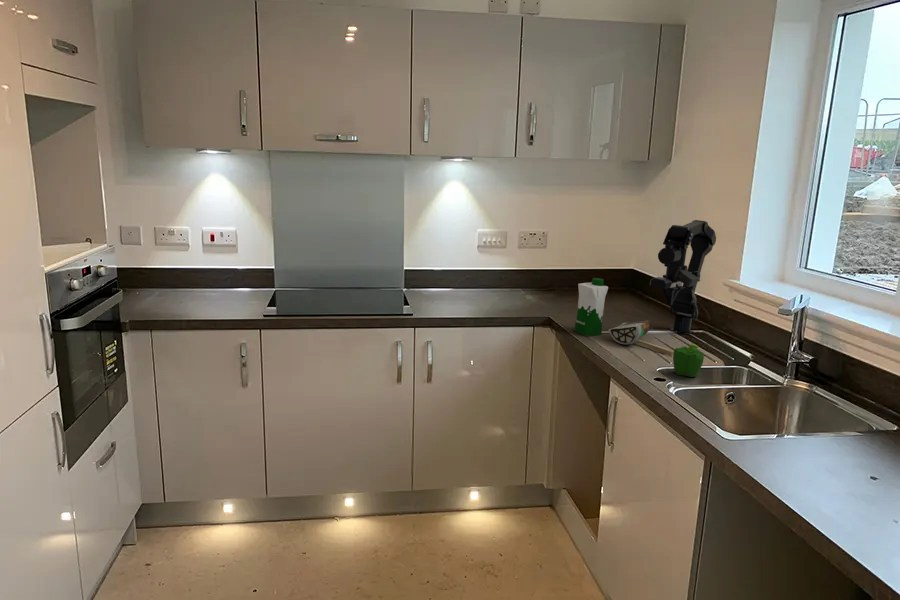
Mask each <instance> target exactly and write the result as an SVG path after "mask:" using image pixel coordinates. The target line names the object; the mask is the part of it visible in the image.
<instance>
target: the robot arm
mask: <svg viewBox="0 0 900 600" xmlns="http://www.w3.org/2000/svg"><path fill="white" fill-rule="evenodd" d="M716 242H717V235H716V232H715V230H714V229H713V228H712V227H710V225H709V223H708V221H706V220H698V219H694V220H692V221H691V222H688V223H686V224H683V225H677V224H673V225H671V226H670V227H669V228H668V231H667V233H666V234H665V237H664V240H663V242H662V245H664V247H663V248H661V249H659V252H658V254H657V258H658V260H659V262H660V263H661V264H662V265H664V267H666V268H665V269H666V270H665V274H663V275H662V277H660V276H657V277H652V278H651V279H650V282H649V286H652V287H655V288H659V289H660V288H661V289H662V292H663V294H664V297H665V300H666V303H667V305H668V306H670V315H672V316H674V321H673V326H672V327H671V328H669V331H671V332H675V333H676V334H677V333H678V334H681V335H689V334H693V333H692V332H694V333H695V330H691V327H692V321H693V320H694V319H695V320H697V319H698V316H699V309H698V308H699V307H698V305H697V303H698V302H697V301H698V300H697V296H696V294H695V293H696V288H697V285H698V282H700V281H701V272H702V268H703V264H704V261H705V258H706V256H708V254H710V252H712V250H713V247H714V246H715V245H716ZM689 246H690V248H691V256H690V260H689V263H688V265H685V264H686V259H687V252H688V249H689Z"/></svg>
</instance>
